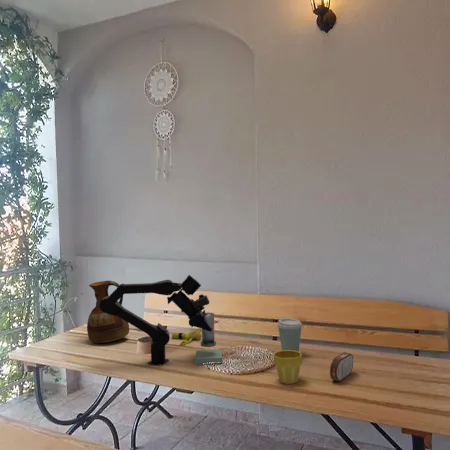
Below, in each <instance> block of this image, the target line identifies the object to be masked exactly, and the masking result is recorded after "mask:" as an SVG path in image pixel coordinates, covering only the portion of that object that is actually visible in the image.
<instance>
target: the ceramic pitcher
mask: <svg viewBox="0 0 450 450" xmlns="http://www.w3.org/2000/svg"><path fill="white" fill-rule="evenodd" d="M119 285H120V284H119V283H118V282H116V281H114V280H113V281H112V280H103V281H102V280H101V281H96V282H93V283H90V284H89V285H88V286H89V287H90V288H91V289H92V290H93V291H94V297H95V300H96V302H95V306H94V308H93V309H91V312H90V313H89V316H88V318H87V322H86V323H87V325H86V331H87V335H88V336H87V337H88V340H89V341H90V342H92V343H97V344H100V343H101V344H102V343H109V342H113V341H114V342H115V341H117V340H120V339H123V338H124V337H127V336H128V335H129V333H130V323H128V322H126V321H125V320H123V319H121V318H120V317H118V316H113V315H110V314H107V313H104V312H102V311H101V310H100V302H101V301H102V299H103V298H104V297H106V296H109V287H111V286H114V287H116V289H117V288H118V286H119ZM123 301H124V294H123V295H122V297H121V298H120V299H119V300H118V302H119V303H120V304H121V305H122V306H123Z"/></svg>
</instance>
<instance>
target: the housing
mask: <svg viewBox="0 0 450 450" xmlns="http://www.w3.org/2000/svg"><path fill="white" fill-rule="evenodd" d="M202 314H203V315H204V319H205V321H206V322H207V324H208V325H209V326H210V328H211V329H212V331H211V332H210V331H207V330H204V329H201V341H200V346H201V347H202V348H203V347H204V348H212V347H215V346H216V345H217V342H216V341H215V313H214V312H205V313H202Z"/></svg>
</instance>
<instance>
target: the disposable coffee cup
mask: <svg viewBox="0 0 450 450" xmlns="http://www.w3.org/2000/svg"><path fill="white" fill-rule="evenodd" d="M302 327H303V323H302V322H301V321H300V320H298V319H296V318H295V319H294V318H289V317H288V318H287V317H285V318H280V319H278V321H277V329H278V332H279V339H280V345H281V350H294V351H298V352H300V345H301V344H300V343H301V336H302Z"/></svg>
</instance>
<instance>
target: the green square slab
mask: <svg viewBox="0 0 450 450" xmlns="http://www.w3.org/2000/svg"><path fill="white" fill-rule="evenodd" d="M194 356H195V357H194V365H196V366H198V365H204V364H203V363H207V362H208V363H209V362H222V363H223V350H222V349H205V350H204V349H203V350H200V349H199V350H196V351H195V355H194Z"/></svg>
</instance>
